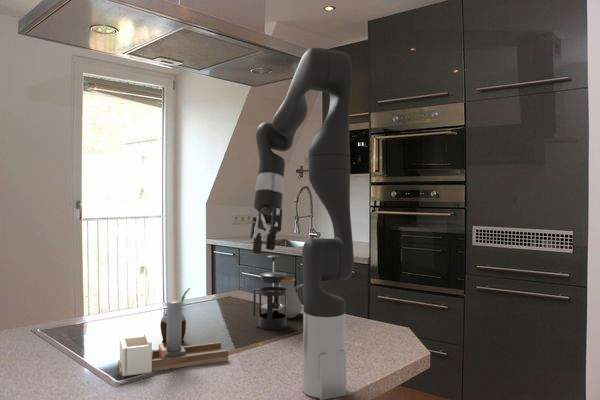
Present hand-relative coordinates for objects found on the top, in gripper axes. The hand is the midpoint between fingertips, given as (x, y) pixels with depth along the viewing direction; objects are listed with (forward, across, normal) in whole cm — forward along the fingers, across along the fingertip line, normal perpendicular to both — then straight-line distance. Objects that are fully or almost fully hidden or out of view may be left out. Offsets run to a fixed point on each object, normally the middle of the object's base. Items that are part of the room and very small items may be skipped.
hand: (263, 251), depth 121 cm
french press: (+17, -33, +20) cm, 42 cm away
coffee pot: (+13, -40, +34) cm, 54 cm away
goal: (+31, -15, -24) cm, 42 cm away
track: (+29, -14, -15) cm, 36 cm away
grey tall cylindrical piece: (+28, -14, -16) cm, 35 cm away
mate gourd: (+25, -30, -12) cm, 41 cm away
